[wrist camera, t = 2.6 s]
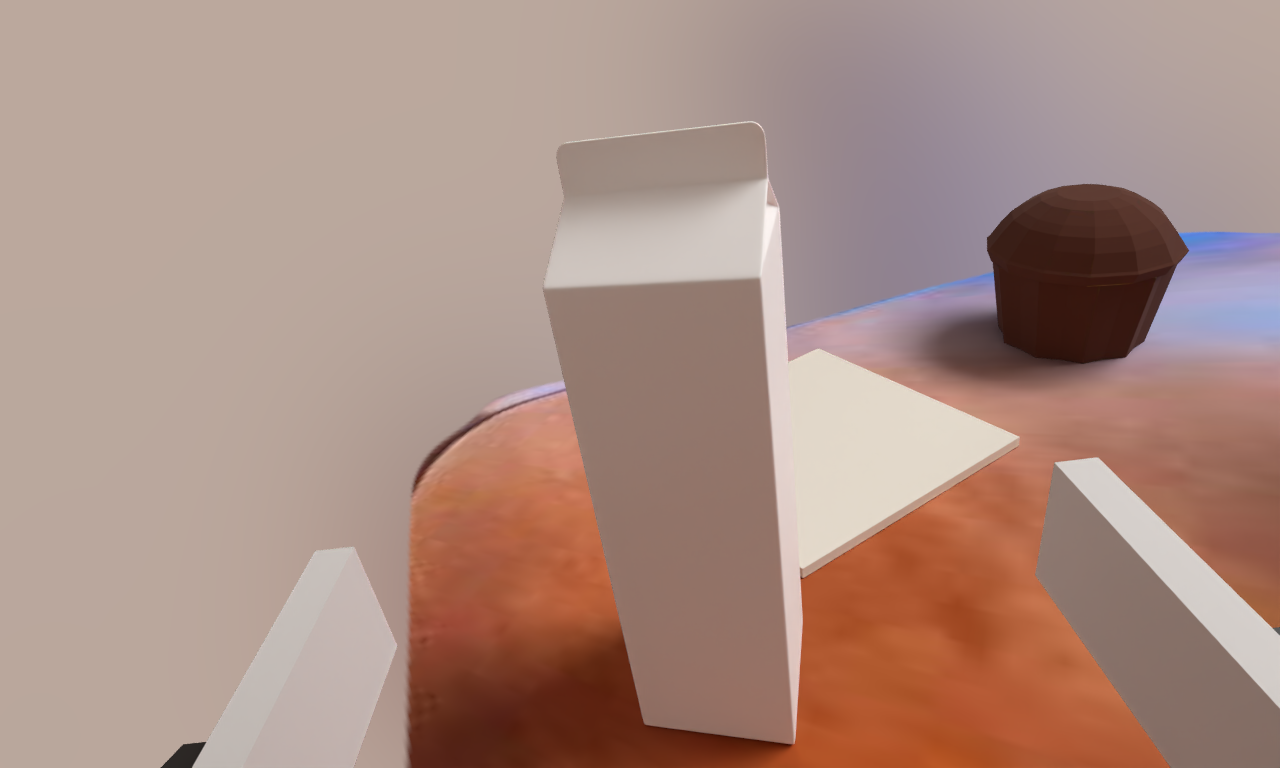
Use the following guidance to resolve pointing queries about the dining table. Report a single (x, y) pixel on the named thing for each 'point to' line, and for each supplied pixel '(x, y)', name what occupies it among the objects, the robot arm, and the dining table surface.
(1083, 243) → the muffin
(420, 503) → the dining table surface
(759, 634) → the milk
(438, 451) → the dining table surface
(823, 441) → the mat
